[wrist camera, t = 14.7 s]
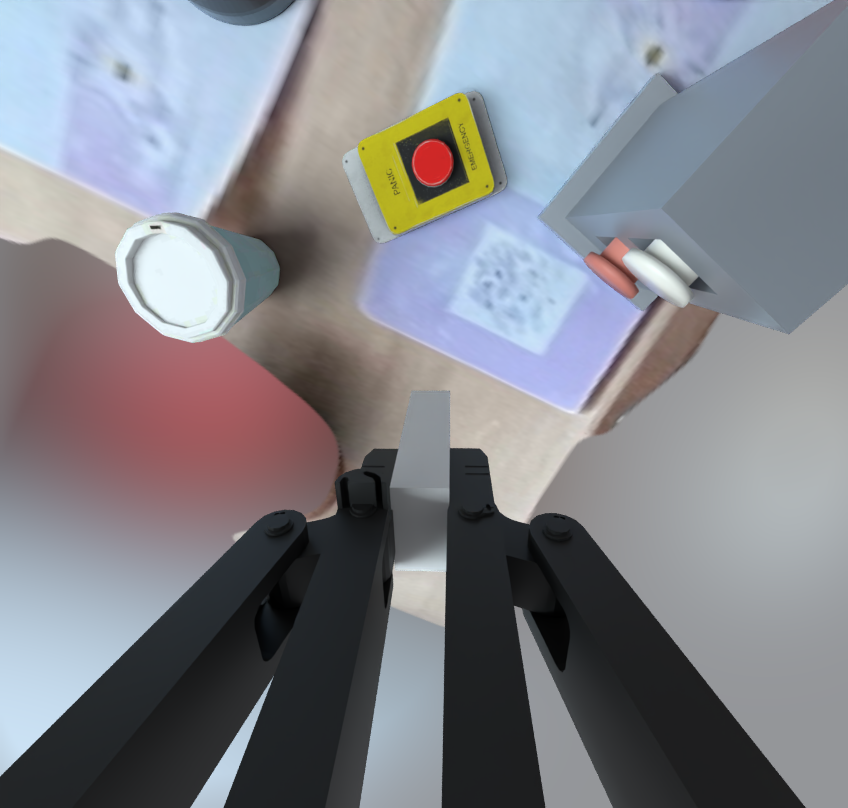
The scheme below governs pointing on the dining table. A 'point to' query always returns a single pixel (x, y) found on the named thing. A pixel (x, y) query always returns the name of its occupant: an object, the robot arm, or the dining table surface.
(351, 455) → the dining table surface
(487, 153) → the emergency button
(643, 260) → the cream plug
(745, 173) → the socket tower
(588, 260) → the red plug
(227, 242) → the disposable coffee cup
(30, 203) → the dining table surface
